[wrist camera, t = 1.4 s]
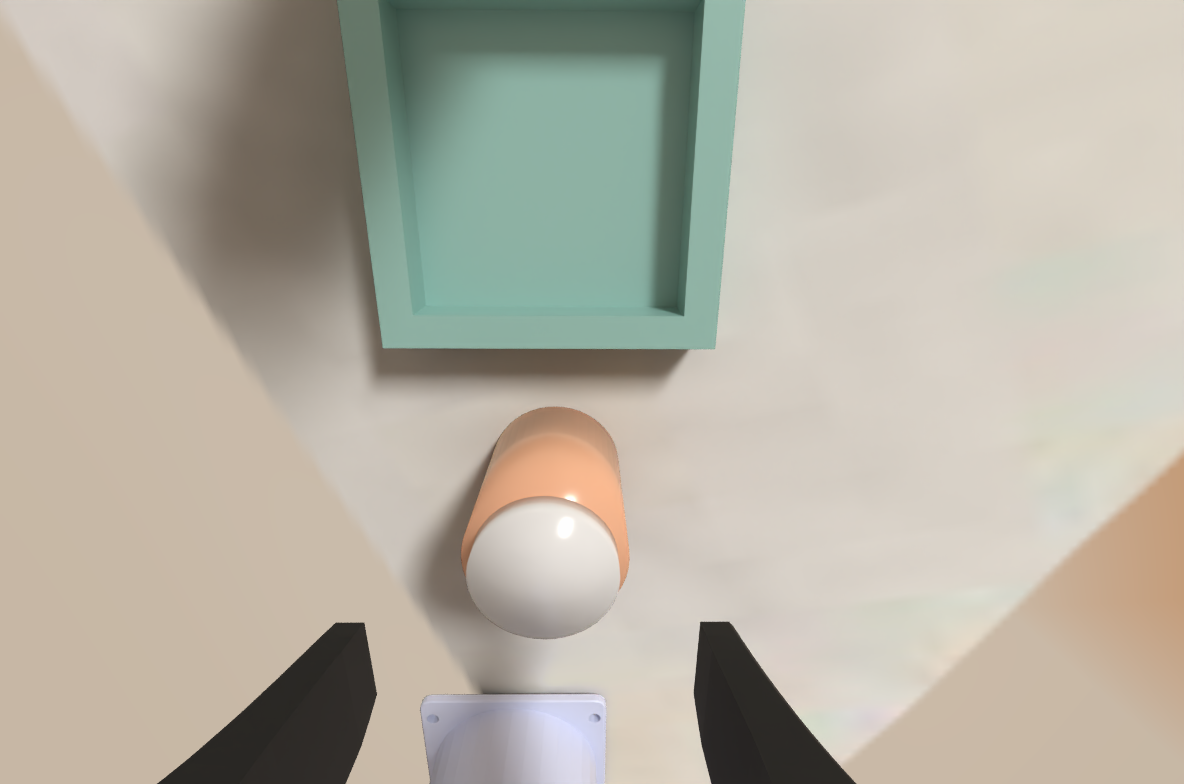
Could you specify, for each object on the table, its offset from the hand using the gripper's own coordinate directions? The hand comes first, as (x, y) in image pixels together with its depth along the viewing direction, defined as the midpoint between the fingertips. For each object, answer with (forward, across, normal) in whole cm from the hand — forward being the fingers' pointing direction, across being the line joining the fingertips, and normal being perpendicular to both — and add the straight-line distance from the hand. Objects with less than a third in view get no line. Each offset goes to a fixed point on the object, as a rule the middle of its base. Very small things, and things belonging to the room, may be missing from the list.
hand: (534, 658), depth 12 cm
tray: (+9, 0, -10) cm, 13 cm away
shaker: (+9, 0, 0) cm, 9 cm away
